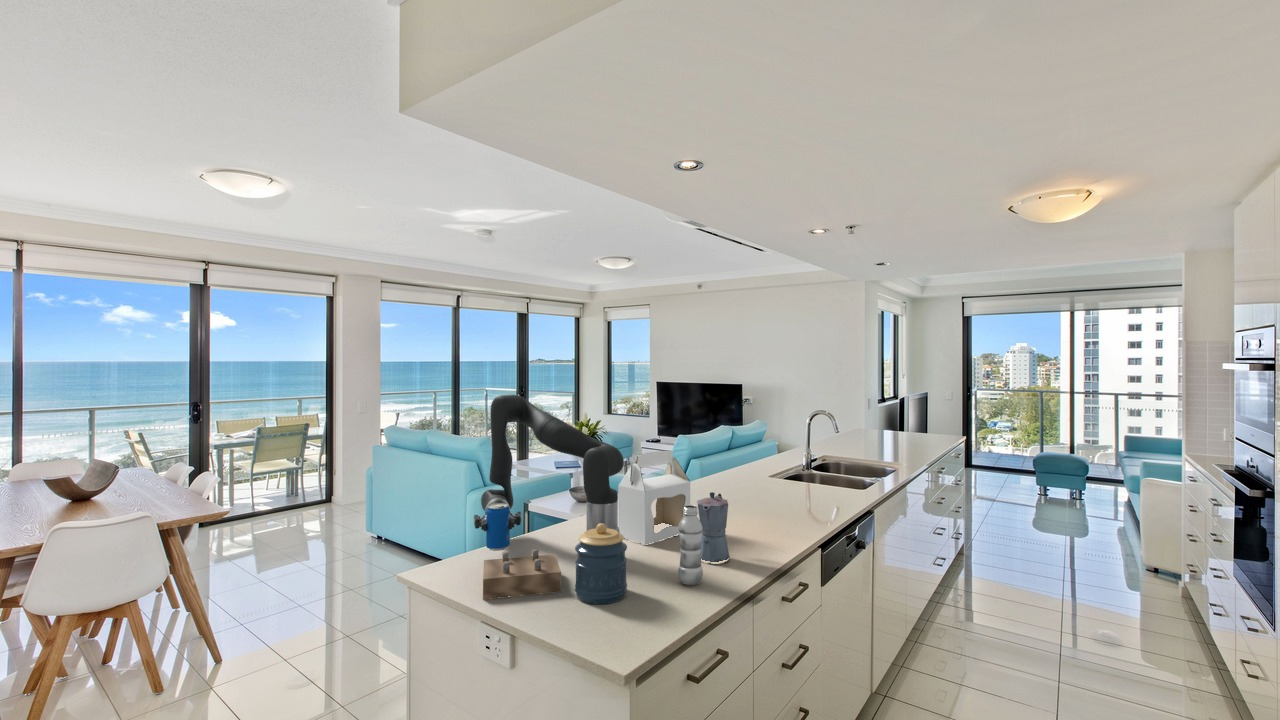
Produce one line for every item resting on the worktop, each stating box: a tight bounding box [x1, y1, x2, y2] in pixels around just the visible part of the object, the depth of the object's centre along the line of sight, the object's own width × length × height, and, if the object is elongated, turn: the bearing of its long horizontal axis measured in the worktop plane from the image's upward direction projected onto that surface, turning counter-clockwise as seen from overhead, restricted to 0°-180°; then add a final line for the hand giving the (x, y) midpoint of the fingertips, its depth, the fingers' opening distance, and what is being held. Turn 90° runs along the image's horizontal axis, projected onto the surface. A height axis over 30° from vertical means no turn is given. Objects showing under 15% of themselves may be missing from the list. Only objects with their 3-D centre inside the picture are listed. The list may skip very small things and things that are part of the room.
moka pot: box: [696, 491, 730, 562], centre depth 166 cm, size 10×15×20 cm, turn 158°
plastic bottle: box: [677, 504, 704, 586], centre depth 147 cm, size 6×7×20 cm
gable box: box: [617, 449, 691, 546], centre depth 190 cm, size 22×13×28 cm, turn 133°
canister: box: [574, 523, 628, 605], centre depth 140 cm, size 13×13×18 cm
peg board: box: [482, 549, 562, 600], centre depth 146 cm, size 19×14×8 cm
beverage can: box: [485, 503, 511, 552], centre depth 159 cm, size 6×6×12 cm
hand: (498, 526), depth 157 cm, fingers closed on beverage can, 6 cm apart
